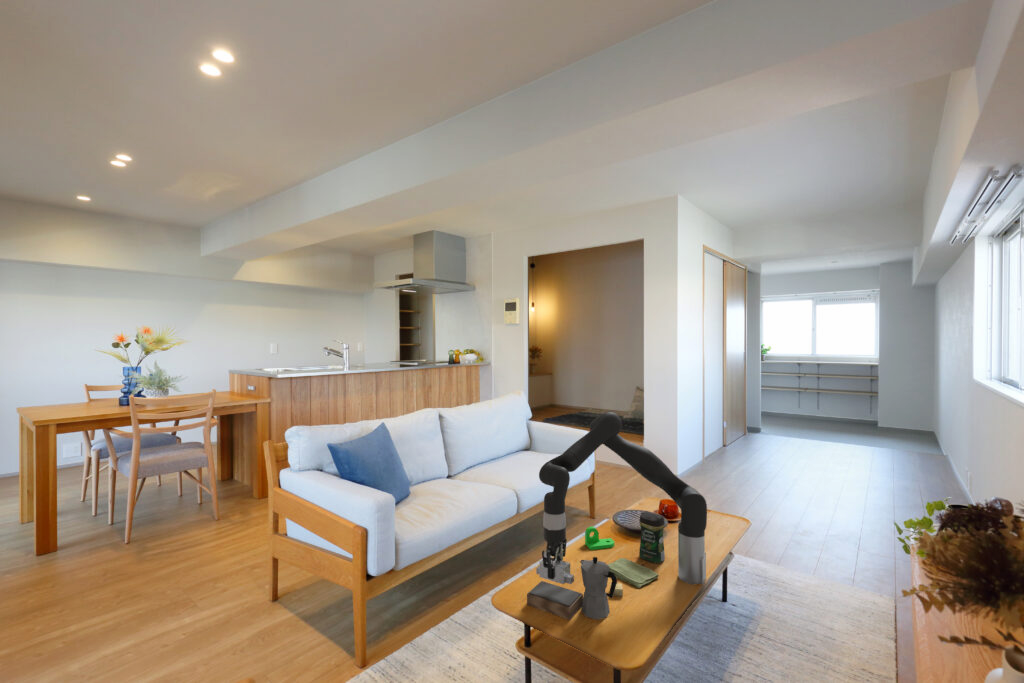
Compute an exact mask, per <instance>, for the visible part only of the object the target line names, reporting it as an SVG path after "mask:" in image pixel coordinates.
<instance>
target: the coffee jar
mask: <svg viewBox="0 0 1024 683" xmlns="http://www.w3.org/2000/svg"><path fill="white" fill-rule="evenodd" d="M665 525H666V524H665V517H664V515H660V514H657V513H653V512H650V511H648V510H645V511H643V512H640V515H639V526H640V543H639V551H638V552H639V553H638V554H639V557H640V559H642V560H644V561H647V562H650V563H653V564H659V563H662V562H664V560H665V558H666V557H665V556H666V555H665V546H664V529H665Z"/></svg>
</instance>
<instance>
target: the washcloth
mask: <svg viewBox="0 0 1024 683" xmlns="http://www.w3.org/2000/svg"><path fill="white" fill-rule="evenodd" d="M606 564H607V565H608V566H609V567H610V568H609V571H610V572H613V573H614V574H615V576H616V578H617V579H619V580H620V581H622V582H625V583H627V584H629V585H632V586H633V587H635V588H637V589H641V587H644V586H645V585H646V584H650V583H651V582H653V581H654V580H656V579H657V578H659V576H660V575H659V574H658V573H657V572H655V571H654V570H653V569H651V568H649V567H646V566H644V565H641V564H638V563H636V562H634V561H632V560H630V559H627V558H623V557H621V558H618V559H617V560H614V561H613V562H610V563H606Z"/></svg>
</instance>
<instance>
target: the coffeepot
mask: <svg viewBox="0 0 1024 683" xmlns="http://www.w3.org/2000/svg"><path fill="white" fill-rule="evenodd" d="M579 563H580V564H581V565H580V571H581V572H580V573H581V578H582V583H583V586H584V592H583V602H582V607H581V608H580V611H581V613H582V614H583V615H584V616H585V617H586V618H590V619H593V620H602V619H605V618H608V616H609V614H610V612H611V611H610V606H609V598H611V599H612V598H613V597H614V596H613V594H614V591H615V587H616V584H617V583H618V578H616V576H615V574H614V573H613V572H610V571H609V568H610V567H609V566H608V565H607V564H608V563H606V562H605V561H601V560H598V557H597V556H593V557H592V559H591V560H589V559H581V560H580V561H579ZM609 578H610V579H611V582H610V583H611V586H610V588H609V593H608V592H606V589H607V588H608V581H609Z"/></svg>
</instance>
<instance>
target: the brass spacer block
mask: <svg viewBox="0 0 1024 683" xmlns="http://www.w3.org/2000/svg"><path fill="white" fill-rule="evenodd" d="M611 583H612V582H610V587H611ZM613 597H619V598H623V597H624V588H623V583H622V582H621V583H619V582H617V584H616V587H615V591H614V594H613Z"/></svg>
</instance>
